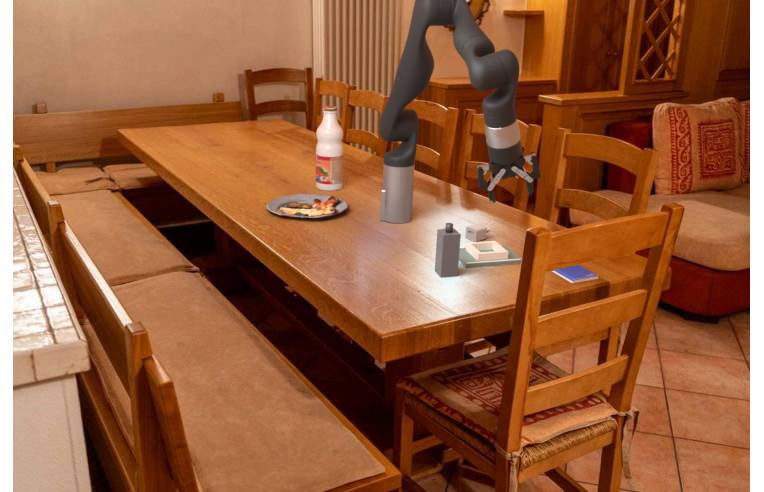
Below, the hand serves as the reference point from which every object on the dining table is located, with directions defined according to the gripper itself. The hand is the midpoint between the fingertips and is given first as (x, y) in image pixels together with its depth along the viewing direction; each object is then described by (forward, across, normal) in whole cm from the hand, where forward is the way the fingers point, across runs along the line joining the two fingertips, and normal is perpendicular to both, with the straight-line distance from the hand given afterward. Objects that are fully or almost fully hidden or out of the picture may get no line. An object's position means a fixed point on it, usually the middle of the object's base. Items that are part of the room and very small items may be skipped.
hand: (511, 197), depth 164 cm
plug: (+15, +19, +5) cm, 25 cm away
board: (+21, +8, -6) cm, 24 cm away
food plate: (+19, +59, -42) cm, 75 cm away
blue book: (+25, -11, +3) cm, 28 cm away
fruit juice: (+28, +55, -68) cm, 91 cm away
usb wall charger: (+26, +9, -20) cm, 34 cm away
